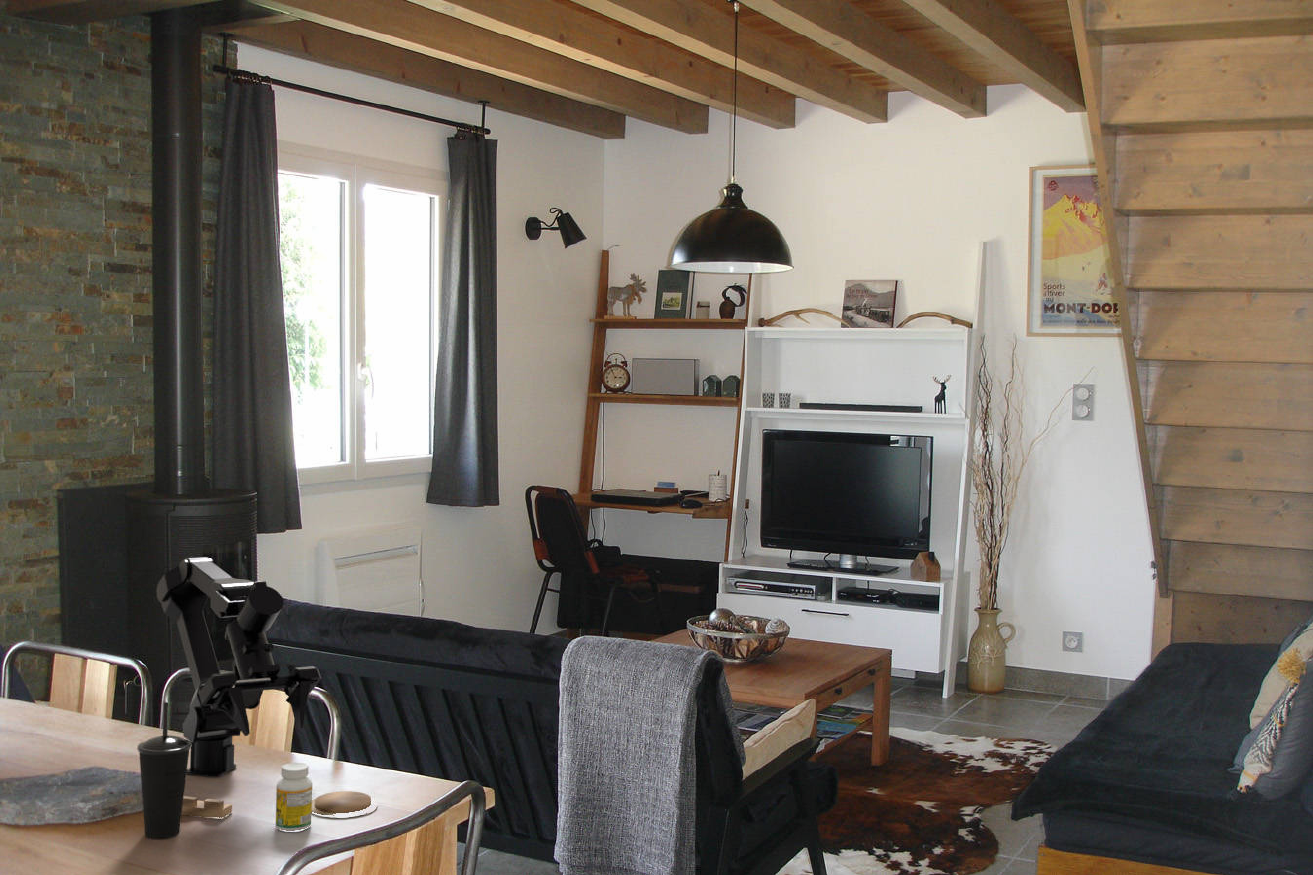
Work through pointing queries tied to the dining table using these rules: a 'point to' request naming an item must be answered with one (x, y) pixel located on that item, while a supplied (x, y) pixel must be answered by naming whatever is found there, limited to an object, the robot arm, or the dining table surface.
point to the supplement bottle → (294, 798)
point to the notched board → (205, 807)
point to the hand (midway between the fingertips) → (274, 731)
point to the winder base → (340, 802)
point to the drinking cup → (163, 781)
